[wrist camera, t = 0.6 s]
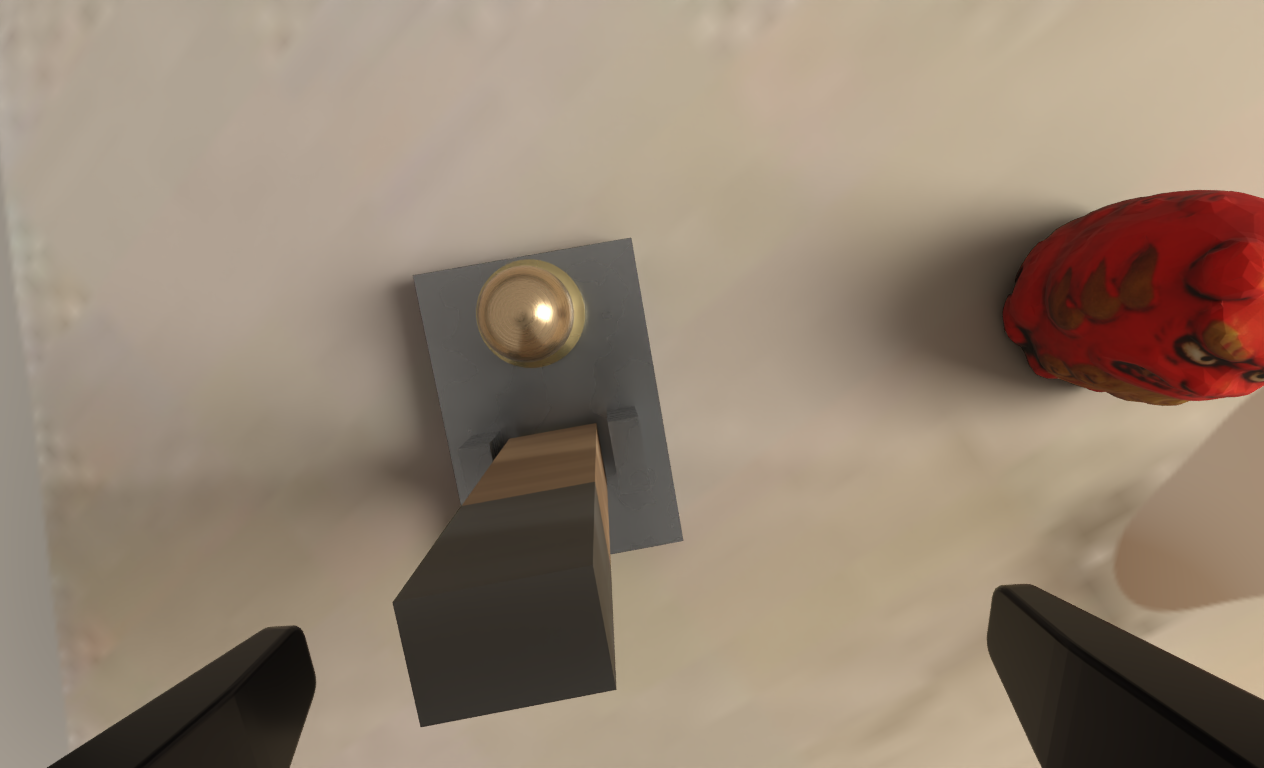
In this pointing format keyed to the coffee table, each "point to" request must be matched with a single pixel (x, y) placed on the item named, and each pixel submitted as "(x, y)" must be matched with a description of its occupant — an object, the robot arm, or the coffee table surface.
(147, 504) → the coffee table surface
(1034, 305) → the decorative doll
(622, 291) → the base
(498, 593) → the lever
